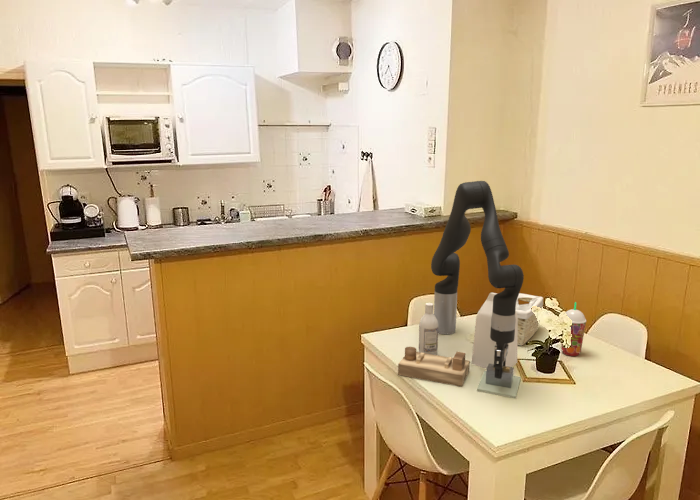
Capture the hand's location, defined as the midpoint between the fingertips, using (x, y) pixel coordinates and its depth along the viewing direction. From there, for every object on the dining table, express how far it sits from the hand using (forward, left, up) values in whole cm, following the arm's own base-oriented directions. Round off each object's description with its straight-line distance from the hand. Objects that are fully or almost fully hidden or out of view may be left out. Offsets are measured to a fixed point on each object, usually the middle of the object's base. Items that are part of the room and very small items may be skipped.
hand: (500, 372), depth 170 cm
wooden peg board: (0, -22, -4) cm, 22 cm away
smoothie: (-36, +21, -5) cm, 42 cm away
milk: (-16, -4, -5) cm, 17 cm away
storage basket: (-47, -1, -5) cm, 47 cm away
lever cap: (0, 0, -4) cm, 4 cm away
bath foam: (-14, -28, -5) cm, 32 cm away
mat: (0, 0, -4) cm, 4 cm away
